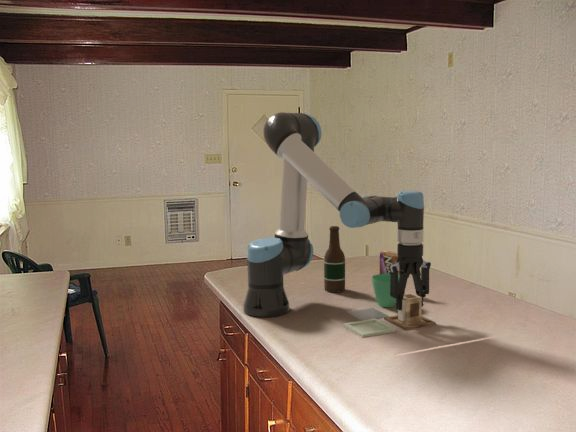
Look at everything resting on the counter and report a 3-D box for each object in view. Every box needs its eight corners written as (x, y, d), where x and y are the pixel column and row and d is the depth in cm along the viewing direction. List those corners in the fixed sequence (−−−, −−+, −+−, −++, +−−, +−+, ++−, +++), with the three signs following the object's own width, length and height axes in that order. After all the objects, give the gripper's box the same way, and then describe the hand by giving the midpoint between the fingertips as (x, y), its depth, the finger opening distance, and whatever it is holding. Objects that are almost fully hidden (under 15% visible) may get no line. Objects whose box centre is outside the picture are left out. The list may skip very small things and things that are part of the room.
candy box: (405, 295, 202) (406, 253, 200) (397, 297, 200) (398, 255, 198) (386, 290, 209) (386, 250, 207) (378, 292, 206) (378, 251, 204)
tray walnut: (404, 331, 164) (404, 327, 164) (384, 320, 174) (384, 317, 174) (435, 326, 168) (435, 322, 168) (414, 316, 178) (414, 312, 178)
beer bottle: (346, 292, 207) (345, 228, 204) (324, 293, 207) (324, 228, 204) (344, 287, 215) (344, 224, 212) (323, 287, 215) (323, 225, 212)
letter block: (407, 325, 168) (407, 299, 167) (397, 320, 173) (398, 294, 172) (421, 323, 170) (421, 297, 169) (411, 318, 174) (411, 293, 173)
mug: (393, 312, 182) (393, 282, 181) (366, 307, 188) (366, 278, 187) (412, 301, 194) (412, 273, 193) (386, 297, 200) (386, 269, 199)
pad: (361, 322, 173) (361, 320, 173) (346, 313, 182) (346, 311, 182) (389, 318, 177) (389, 316, 177) (373, 309, 186) (373, 307, 186)
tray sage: (362, 338, 159) (362, 334, 159) (343, 327, 169) (343, 323, 169) (395, 333, 163) (395, 329, 163) (375, 322, 173) (375, 318, 173)
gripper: (391, 247, 161) (390, 326, 164) (443, 242, 168) (441, 318, 171) (377, 243, 168) (377, 319, 171) (427, 238, 175) (426, 311, 178)
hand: (409, 318), depth 171 cm, fingers closed on letter block, 5 cm apart
